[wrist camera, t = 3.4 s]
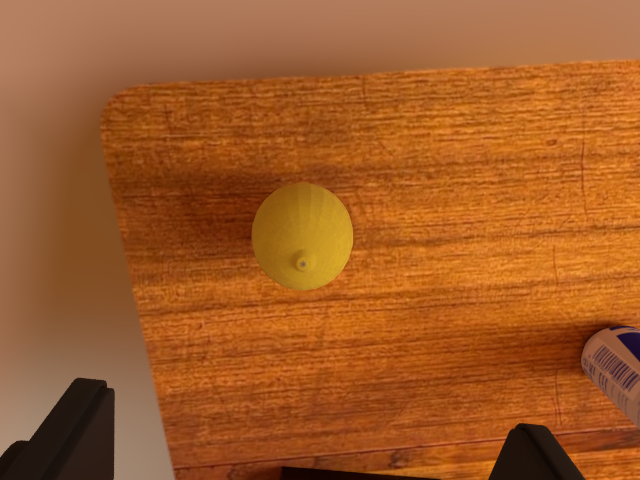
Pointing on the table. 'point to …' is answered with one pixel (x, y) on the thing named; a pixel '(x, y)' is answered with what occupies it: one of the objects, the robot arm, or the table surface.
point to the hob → (335, 475)
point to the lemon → (302, 236)
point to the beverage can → (616, 367)
